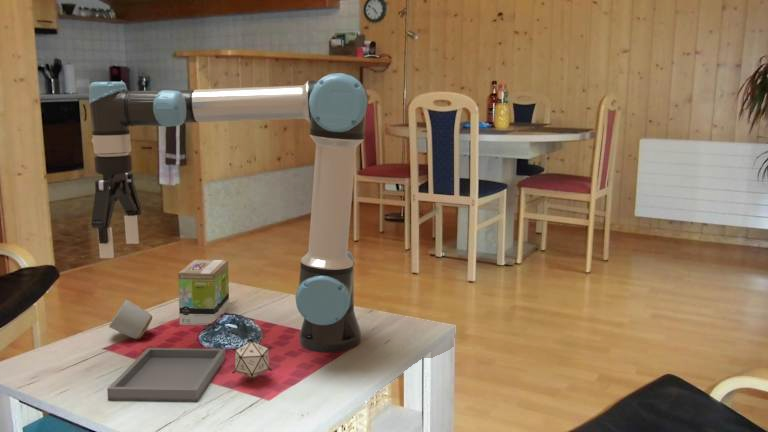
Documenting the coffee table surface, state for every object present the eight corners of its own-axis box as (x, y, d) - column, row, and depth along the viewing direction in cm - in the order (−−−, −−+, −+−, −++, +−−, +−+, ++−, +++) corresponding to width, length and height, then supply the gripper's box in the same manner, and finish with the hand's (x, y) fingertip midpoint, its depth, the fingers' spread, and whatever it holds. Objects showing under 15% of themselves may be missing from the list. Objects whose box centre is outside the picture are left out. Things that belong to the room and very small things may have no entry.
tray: (225, 359, 159) (225, 349, 159) (197, 401, 138) (196, 390, 137) (148, 358, 160) (147, 347, 159) (108, 400, 138) (107, 388, 138)
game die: (237, 393, 141) (236, 347, 140) (226, 378, 149) (225, 334, 147) (279, 385, 145) (278, 340, 144) (266, 370, 153) (265, 327, 151)
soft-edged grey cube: (136, 347, 171) (148, 327, 168) (105, 332, 169) (116, 312, 165) (150, 319, 180) (161, 300, 177) (120, 305, 178) (132, 285, 174)
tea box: (217, 327, 181) (214, 272, 178) (178, 327, 181) (175, 272, 178) (230, 309, 195) (228, 258, 193) (195, 309, 196) (192, 258, 193)
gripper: (119, 149, 161) (126, 238, 165) (67, 160, 137) (76, 264, 140) (151, 149, 161) (157, 238, 165) (104, 160, 136) (113, 264, 140)
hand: (120, 250), depth 153 cm, fingers open, 13 cm apart
